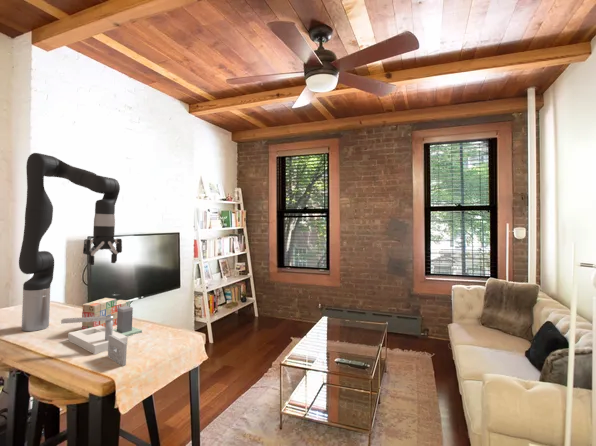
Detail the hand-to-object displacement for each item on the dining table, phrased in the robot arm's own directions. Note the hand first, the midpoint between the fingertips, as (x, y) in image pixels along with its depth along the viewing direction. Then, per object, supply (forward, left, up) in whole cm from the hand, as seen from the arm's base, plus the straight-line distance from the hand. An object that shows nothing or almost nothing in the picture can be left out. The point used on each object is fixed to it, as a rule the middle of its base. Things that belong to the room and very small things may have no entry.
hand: (102, 263), depth 133 cm
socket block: (+7, -4, -30) cm, 31 cm away
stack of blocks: (-11, +8, -30) cm, 33 cm away
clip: (+11, -10, -19) cm, 24 cm away
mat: (+4, +8, -30) cm, 31 cm away
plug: (+4, +8, -29) cm, 31 cm away
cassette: (+28, -8, -30) cm, 42 cm away
